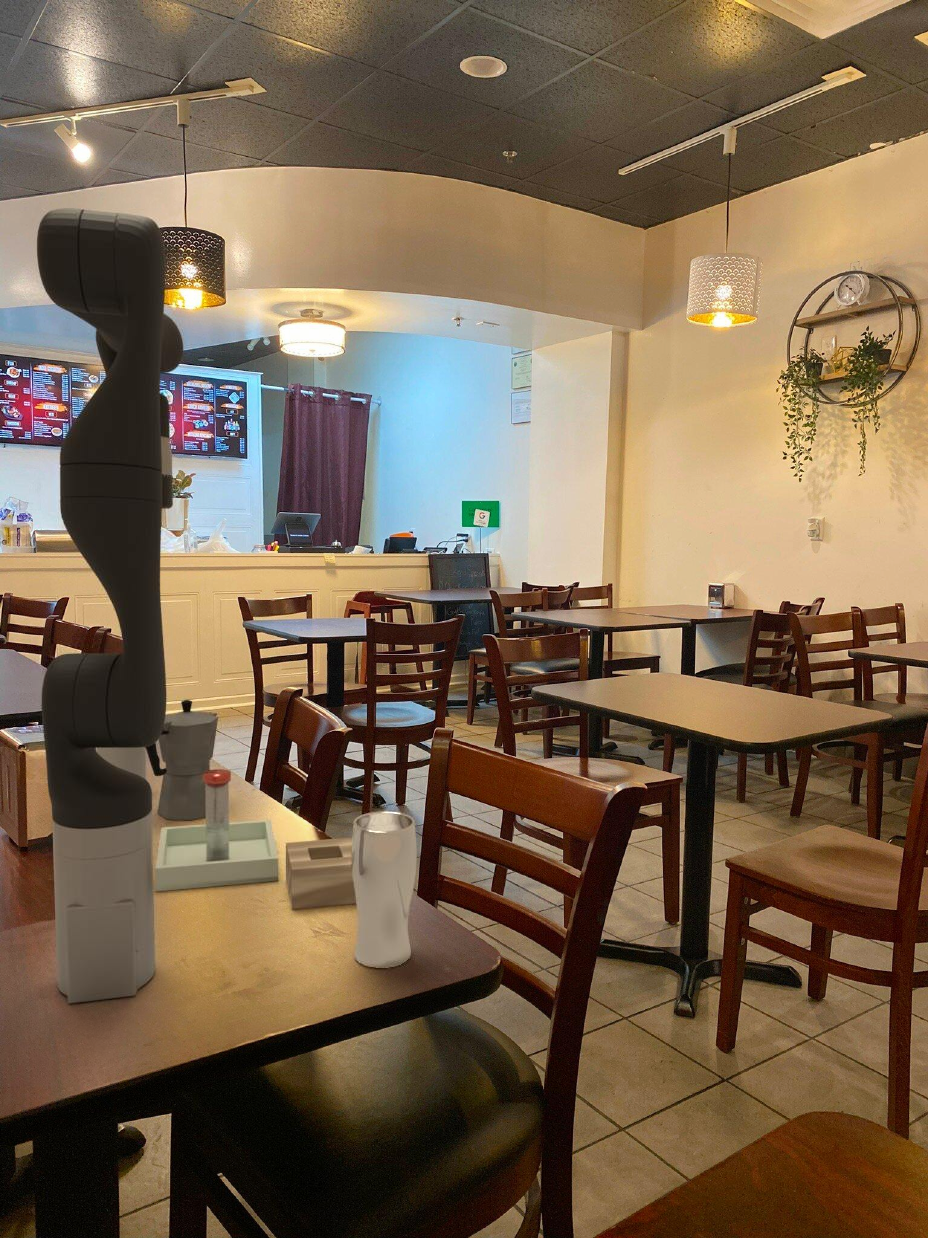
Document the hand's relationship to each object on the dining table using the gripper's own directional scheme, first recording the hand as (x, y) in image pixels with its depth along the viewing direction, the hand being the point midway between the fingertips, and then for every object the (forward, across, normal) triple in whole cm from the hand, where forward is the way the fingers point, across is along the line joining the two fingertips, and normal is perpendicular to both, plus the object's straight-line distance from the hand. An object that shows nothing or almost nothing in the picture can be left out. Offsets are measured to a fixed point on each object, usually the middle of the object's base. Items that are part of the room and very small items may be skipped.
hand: (144, 594), depth 119 cm
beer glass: (+36, -36, -26) cm, 57 cm away
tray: (+36, -6, -9) cm, 38 cm away
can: (+36, +27, +6) cm, 46 cm away
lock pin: (+36, -6, -9) cm, 37 cm away
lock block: (+36, -18, -22) cm, 46 cm away
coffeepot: (+36, +16, -4) cm, 40 cm away
